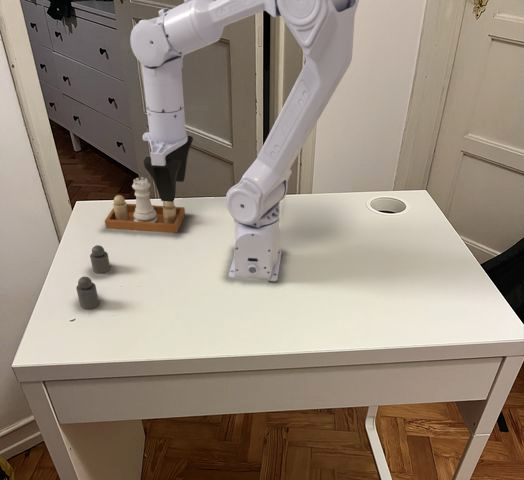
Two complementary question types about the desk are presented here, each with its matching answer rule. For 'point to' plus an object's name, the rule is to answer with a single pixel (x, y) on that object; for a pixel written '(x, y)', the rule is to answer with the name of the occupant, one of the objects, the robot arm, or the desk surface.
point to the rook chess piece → (143, 202)
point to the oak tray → (146, 226)
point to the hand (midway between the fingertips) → (173, 190)
